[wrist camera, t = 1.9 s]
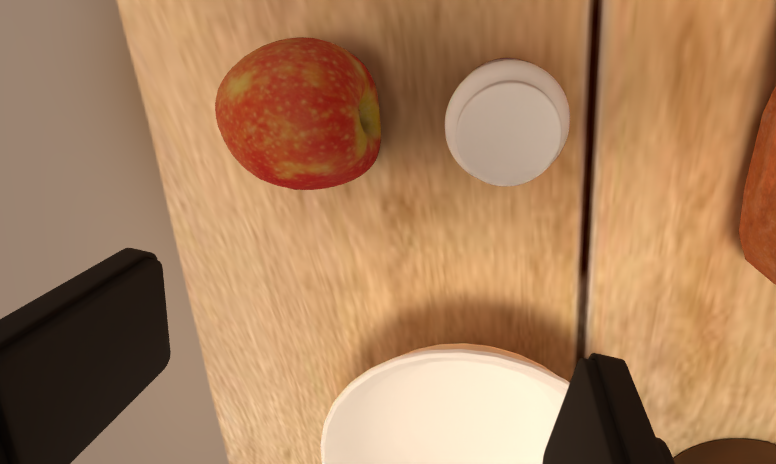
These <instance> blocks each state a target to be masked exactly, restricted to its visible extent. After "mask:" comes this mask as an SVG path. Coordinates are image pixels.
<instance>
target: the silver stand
mask: <svg viewBox="0 0 776 464" xmlns="http://www.w3.org/2000/svg"><path fill="white" fill-rule="evenodd" d="M673 460H674V462H675V464H776V445H775V444H771V443H767V442H763V441H757V440H749V439H726V440H718V441H712V442H708V443H704V444H701V445H698V446H695V447H693V448H690V449H688V450H686V451H684V452H683V453H681V454H680V455H678V456H677V457H675V458H674V459H673Z"/></svg>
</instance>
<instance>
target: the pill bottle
mask: <svg viewBox="0 0 776 464" xmlns="http://www.w3.org/2000/svg"><path fill="white" fill-rule="evenodd" d="M569 126H570V110H569V105H568V101H567V98H566V95H565V93H564V91H563V90H562V88H561V86H560V85H559V83H558V82H557V81H556V80H555V79H554V78H553V77H552V76H551V75H550V74H549V73H548V72H547V71H545V70H544V69H542V68H541V67H539V66H537V65H535V64H532V63H529V62H526V61H523V60H519V59H514V58H500V59H495V60H492V61H489V62H487V63H485V64H482V65H481V66H479V67H478V68H476V69H475V70H474V71H472V72H471V73H470V74H469V75H468V76H467V77H466V78H465V79H464V80H463V81H462V82H461V83H460V84H459V86H458V87H457V88H456V90H455V92H454V93H453V95H452V97H451V99H450V102H449V104H448V107H447V111H446V116H445V135H446V140H447V144H448V147H449V149H450V152H451V154H452V156H453V157H454V159H455V160H456V162H457V163H458V164H459V165H460V166H461V167H462V168H463V169H464V170H465V171H466V172H467V173H469V174H470V175H472V176H474V177H475V178H477V179H480V180H481V181H483V182H486V183H488V184H491V185H495V186H516V185H520V184H524V183H526V182H529V181H531V180H533V179H534V178H536V177H538V176H539V175H540V174H542V173H543V172H544V171H545V170H546V169H547V168H548V167H549V166H550V165H551V164H552V163H553V162H554V161H555V159H556V158H557V157H558V155H559V154H560V152H561V151H562V149H563V147H564V145H565V142H566V140H567V137H568V133H569Z"/></svg>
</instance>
